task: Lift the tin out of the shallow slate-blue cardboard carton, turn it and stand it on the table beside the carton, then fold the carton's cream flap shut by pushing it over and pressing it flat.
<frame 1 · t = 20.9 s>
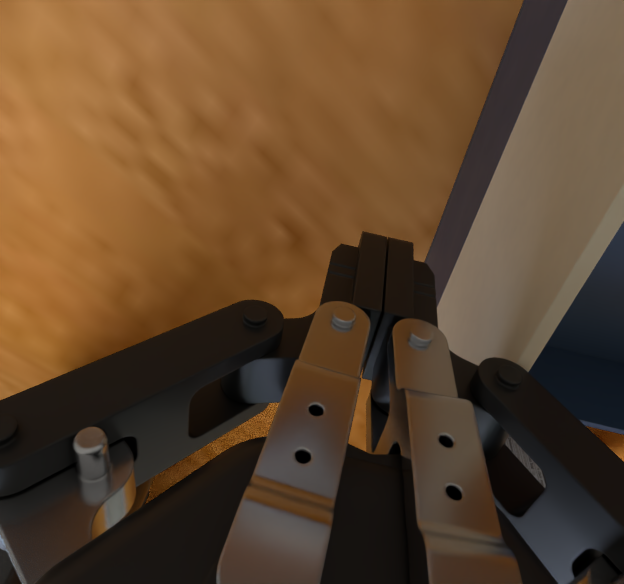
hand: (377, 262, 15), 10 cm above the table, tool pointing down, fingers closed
tin: (502, 422, 32), on the table
carton flap: (485, 297, 15), point 10 cm above the table, hinge at 91.8°
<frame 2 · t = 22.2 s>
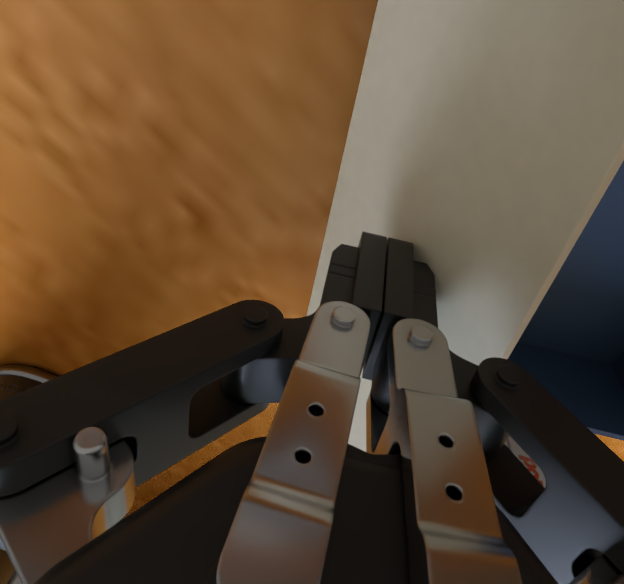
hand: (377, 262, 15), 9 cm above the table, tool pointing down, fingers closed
carton: (534, 184, 23), on the table
tin: (424, 407, 32), on the table
carton flap: (405, 268, 15), point 9 cm above the table, hinge at 52.2°
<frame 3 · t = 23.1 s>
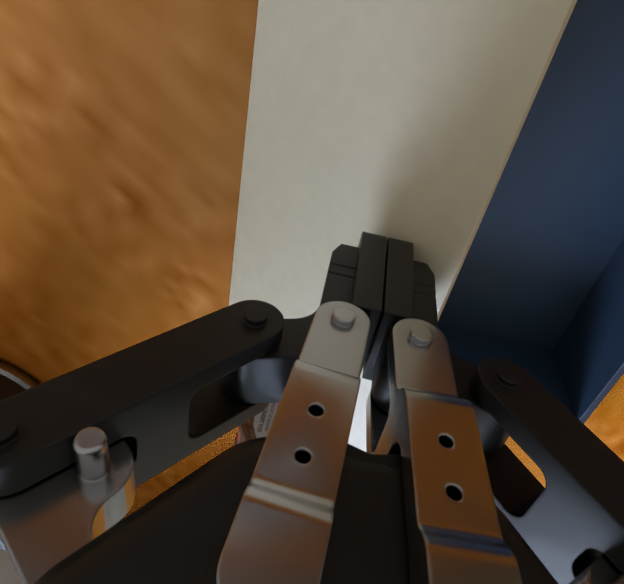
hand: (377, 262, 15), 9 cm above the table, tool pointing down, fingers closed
packaging: (28, 544, 53), on the table
carton: (460, 165, 23), on the table
tin: (373, 394, 32), on the table
carton flap: (336, 230, 16), point 8 cm above the table, hinge at 29.4°, touching gripper
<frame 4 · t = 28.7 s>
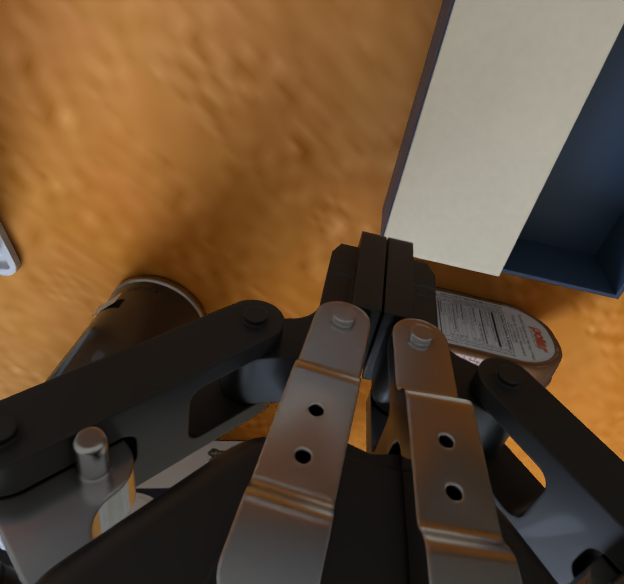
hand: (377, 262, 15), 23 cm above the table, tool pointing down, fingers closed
packaging: (147, 453, 64), on the table
carton: (539, 120, 34), on the table
tin: (457, 299, 43), on the table
carton flap: (488, 137, 29), point 6 cm above the table, hinge at -0.1°
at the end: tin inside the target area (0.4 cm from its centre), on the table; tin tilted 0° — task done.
